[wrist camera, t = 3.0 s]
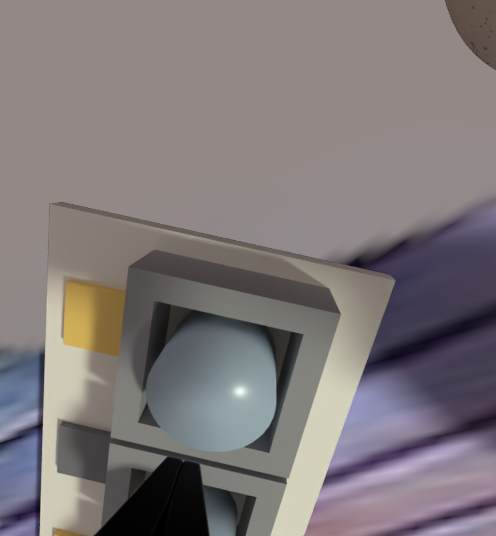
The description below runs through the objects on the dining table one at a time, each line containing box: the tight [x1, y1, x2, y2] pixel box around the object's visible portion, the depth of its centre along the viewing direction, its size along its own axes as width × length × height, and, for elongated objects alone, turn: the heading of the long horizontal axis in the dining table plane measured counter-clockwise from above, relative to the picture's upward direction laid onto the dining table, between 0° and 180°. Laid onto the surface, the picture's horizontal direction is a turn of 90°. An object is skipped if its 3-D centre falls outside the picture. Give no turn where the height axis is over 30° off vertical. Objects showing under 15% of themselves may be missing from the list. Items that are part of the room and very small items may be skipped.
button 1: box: [146, 310, 276, 452], centre depth 13 cm, size 4×4×3 cm
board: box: [40, 202, 396, 536], centre depth 16 cm, size 14×24×3 cm, turn 168°
